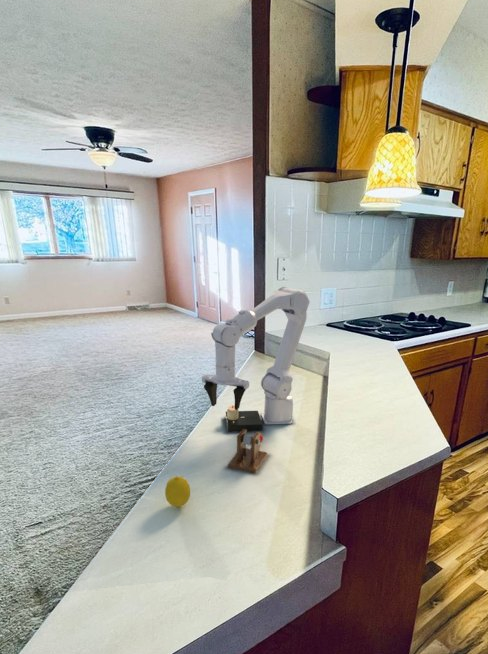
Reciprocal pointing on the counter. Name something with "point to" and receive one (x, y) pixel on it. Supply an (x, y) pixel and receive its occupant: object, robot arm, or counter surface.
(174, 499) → the lemon
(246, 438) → the lever
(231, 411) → the dial
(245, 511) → the counter surface
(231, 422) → the control panel
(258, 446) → the switch bracket
